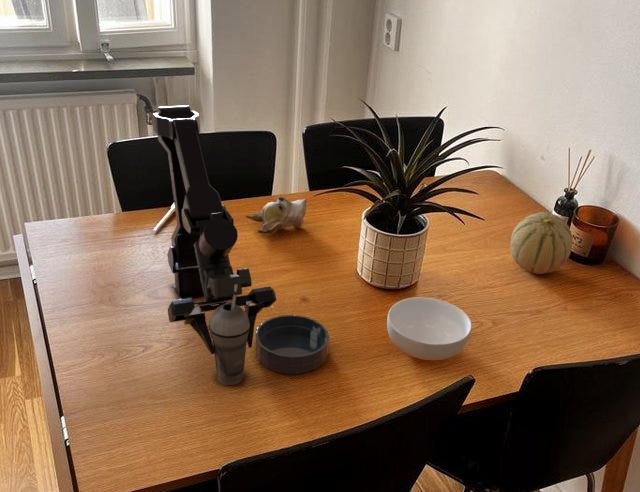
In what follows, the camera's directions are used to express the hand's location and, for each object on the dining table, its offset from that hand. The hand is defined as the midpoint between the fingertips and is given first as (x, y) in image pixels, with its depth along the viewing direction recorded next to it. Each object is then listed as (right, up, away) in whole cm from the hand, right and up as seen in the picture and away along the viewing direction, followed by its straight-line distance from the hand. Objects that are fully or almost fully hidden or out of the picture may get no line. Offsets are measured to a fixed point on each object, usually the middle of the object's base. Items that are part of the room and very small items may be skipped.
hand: (231, 350), depth 125 cm
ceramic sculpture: (+3, +29, +57) cm, 64 cm away
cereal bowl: (+36, 0, +18) cm, 40 cm away
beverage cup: (-1, -5, +5) cm, 7 cm away
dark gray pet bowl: (+10, -1, +12) cm, 16 cm away
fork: (-25, +32, +58) cm, 71 cm away
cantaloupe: (+67, +18, +49) cm, 85 cm away
